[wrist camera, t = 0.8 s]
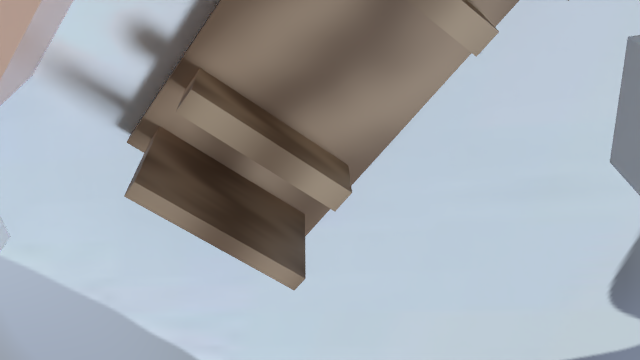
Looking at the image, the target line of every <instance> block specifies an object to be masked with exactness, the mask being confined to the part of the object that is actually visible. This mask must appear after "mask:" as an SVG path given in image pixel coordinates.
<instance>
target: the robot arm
mask: <svg viewBox="0 0 640 360" xmlns="http://www.w3.org/2000/svg"><path fill="white" fill-rule="evenodd" d="M610 163H611V164H612V165H613V166H614V167H615V168H616V169H617V171H618V172H619V173H620V174H621V175H622V176H623V177H624V178H625V180H626V181H627V182H628V183H629V184H630V185H631V186H632V187H633V189H634V190H635V191H636V192H637V193H638V194H639V195H640V35H638V36H630V37H628V40H627V47H626V54H625V61H624V68H623V74H622V81H621V88H620V95H619V102H618V109H617V116H616V123H615V130H614V137H613V144H612V150H611V157H610ZM9 238H10V235H9V233H8V231H7V229H6V227H5V225H4V223H3V221H2V219H1V217H0V252H1V250H2V249H3V247H4V246H5V244H6V243H7V241H8V240H9Z"/></svg>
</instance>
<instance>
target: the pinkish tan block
mask: <svg viewBox="0 0 640 360" xmlns="http://www.w3.org/2000/svg"><path fill="white" fill-rule="evenodd" d="M72 2H73V0H0V106H1V105H2V104H3V103H4V102H5V101H6V100H7V99H8V98H9V97H10V96H11V95H12V94H13V93H14V92H15V91H17V90H18V89H19V88H20V87H21V86H22V85H23V84H24V83H25V82H26V81H27V80H28V79H29V78H30V77H31V76H32V75H33V73H34V72H35V70H36V68H37V66H38V64H39V62H40V61H41V59H42V57H43V55H44V53H45V52H46V50H47V48H48V46H49V44H50V42H51V41H52V39H53V37H54V35H55V33H56V31H57V30H58V28H59V26H60V24H61V22H62V20H63V19H64V17H65V15H66V13H67V11H68V9H69V8H70V6H71V4H72Z"/></svg>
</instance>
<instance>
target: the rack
mask: <svg viewBox="0 0 640 360" xmlns="http://www.w3.org/2000/svg"><path fill="white" fill-rule="evenodd" d="M518 1H519V0H220V1H219V3H218V4H217V6H216V7H215V9H214V10H213V12H212V13H211V15H210V16H209V18H208V19H207V21H206V22H205V24H204V25H203V27H202V28H201V30H200V31H199V33H198V34H197V36H196V37H195V39H194V40H193V42H192V43H191V45H190V46H189V48H188V49H187V51H186V52H185V54H184V55H183V57H182V58H181V60H180V61H179V63H178V65H177V66H176V68H175V69H174V71H173V72H172V74H171V75H170V77H169V78H168V80H167V81H166V83H165V84H164V86H163V87H162V89H161V90H160V92H159V93H158V95H157V96H156V98H155V99H154V101H153V102H152V104H151V105H150V107H149V108H148V110H147V111H146V113H145V114H144V116H143V117H142V119H141V120H140V122H139V123H138V125H137V126H136V128H135V129H134V131H133V132H132V134H131V135H130V137H129V139H128V141H127V143H128V144H130V145H132V146H134V147H135V148H137V149H139V150H140V151H142V152H144V155H143V157H142V160H141V162H140V164H139V166H138V168H137V170H136V172H135V174H134V177H133V179H132V181H131V183H130V185H129V187H128V189H127V191H126V193H125V197H126V198H128V199H130V200H132V201H134V202H135V203H137V204H139V205H141V206H143V207H144V208H146V209H148V210H150V211H152V212H153V213H155V214H157V215H159V216H161V217H162V218H164V219H166V220H168V221H170V222H172V223H173V224H175V225H177V226H179V227H181V228H182V229H184V230H186V231H188V232H190V233H191V234H193V235H195V236H197V237H199V238H200V239H202V240H204V241H206V242H208V243H209V244H211V245H213V246H215V247H217V248H218V249H220V250H222V251H224V252H226V253H228V254H229V255H231V256H233V257H235V258H237V259H238V260H240V261H242V262H244V263H246V264H247V265H249V266H251V267H253V268H255V269H256V270H258V271H260V272H262V273H264V274H265V275H267V276H269V277H271V278H273V279H275V280H276V281H278V282H280V283H282V284H284V285H285V286H287V287H289V288H291V289H293V290H295V289H296V288H297V287H298V286H299V285H300V284H301V283H302V282H303V280H304V279H305V236H306V235H307V234H308V233H309V232H310V231H311V229H312V228H313V227H314V226H315V225H316V224H317V223H318V222H319V221H320V220H321V218H322V217H323V216H324V215H325V214H326V213H327V212H328V211H329V210H330V209H332V210H333V211H336V210H337V209H338V208H339V206H340V205H341V204H342V203H343V202H344V201H345V200H346V199H347V198H348V197H349V195H350V194H351V193H352V189H351V185H352V184H353V183H354V182H355V181H356V180H357V179H358V178H359V177H360V175H361V174H362V173H363V172H364V171H365V170H366V169H367V168H368V167H369V166H370V164H371V163H372V162H373V161H374V160H375V159H376V158H377V157H378V156H379V155H380V153H381V152H382V151H383V150H384V149H385V148H386V147H387V146H388V145H389V143H390V142H391V141H392V140H393V139H394V138H395V137H396V136H397V135H398V134H399V132H400V131H401V130H402V129H403V128H404V127H405V126H406V125H407V124H408V123H409V121H410V120H411V119H412V118H413V117H414V116H415V115H416V114H417V113H418V112H419V110H420V109H421V108H422V107H423V106H424V105H425V104H426V103H427V102H428V100H429V99H430V98H431V97H432V96H433V95H434V94H435V93H436V92H437V91H438V89H439V88H440V87H441V86H442V85H443V84H444V83H445V82H446V81H447V80H448V78H449V77H450V76H451V75H452V74H453V73H454V72H455V71H456V70H457V69H458V67H459V66H460V65H461V64H462V63H463V62H464V61H465V60H466V59H467V57H468V56H469V55H470V54H471V53H473V54H474V55H475V56H477V55H478V54H479V53H480V52H481V51H482V50H483V49H484V48H485V47H486V46H487V44H488V43H489V42H490V41H491V40H492V39H493V38H494V37H495V36H496V35H497V33H498V32H499V31H498V30H497V29H496V28H495V27H496V25H497V24H498V23H499V22H500V21H501V20H502V19H503V18H504V17H505V16H506V14H507V13H508V12H509V11H510V10H511V9H512V8H513V7H514V6H515V5H516V3H517V2H518ZM568 1H569V0H568Z"/></svg>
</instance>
